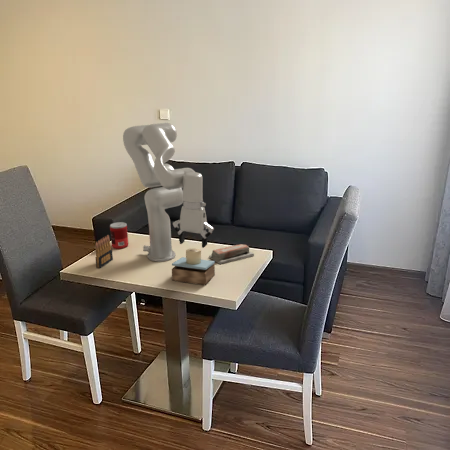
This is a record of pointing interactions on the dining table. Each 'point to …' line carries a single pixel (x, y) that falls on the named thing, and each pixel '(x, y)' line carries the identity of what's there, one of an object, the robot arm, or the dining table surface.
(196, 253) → the cream bottle with knob
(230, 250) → the packaged product
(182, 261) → the lid
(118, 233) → the canned food
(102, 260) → the ammunition clip
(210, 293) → the dining table surface
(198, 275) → the crate
